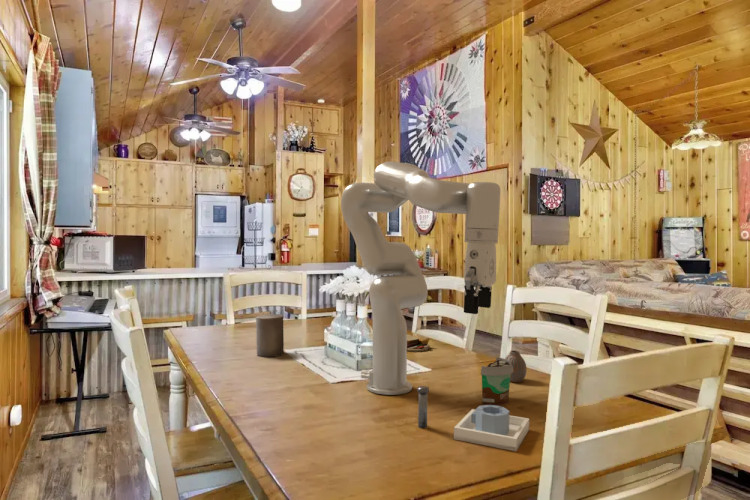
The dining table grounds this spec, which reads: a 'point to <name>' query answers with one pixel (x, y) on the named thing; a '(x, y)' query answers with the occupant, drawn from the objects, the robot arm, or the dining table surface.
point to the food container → (496, 382)
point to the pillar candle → (269, 335)
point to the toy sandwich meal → (416, 344)
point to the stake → (422, 406)
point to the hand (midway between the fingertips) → (477, 310)
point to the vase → (517, 366)
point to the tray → (508, 442)
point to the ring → (491, 419)
